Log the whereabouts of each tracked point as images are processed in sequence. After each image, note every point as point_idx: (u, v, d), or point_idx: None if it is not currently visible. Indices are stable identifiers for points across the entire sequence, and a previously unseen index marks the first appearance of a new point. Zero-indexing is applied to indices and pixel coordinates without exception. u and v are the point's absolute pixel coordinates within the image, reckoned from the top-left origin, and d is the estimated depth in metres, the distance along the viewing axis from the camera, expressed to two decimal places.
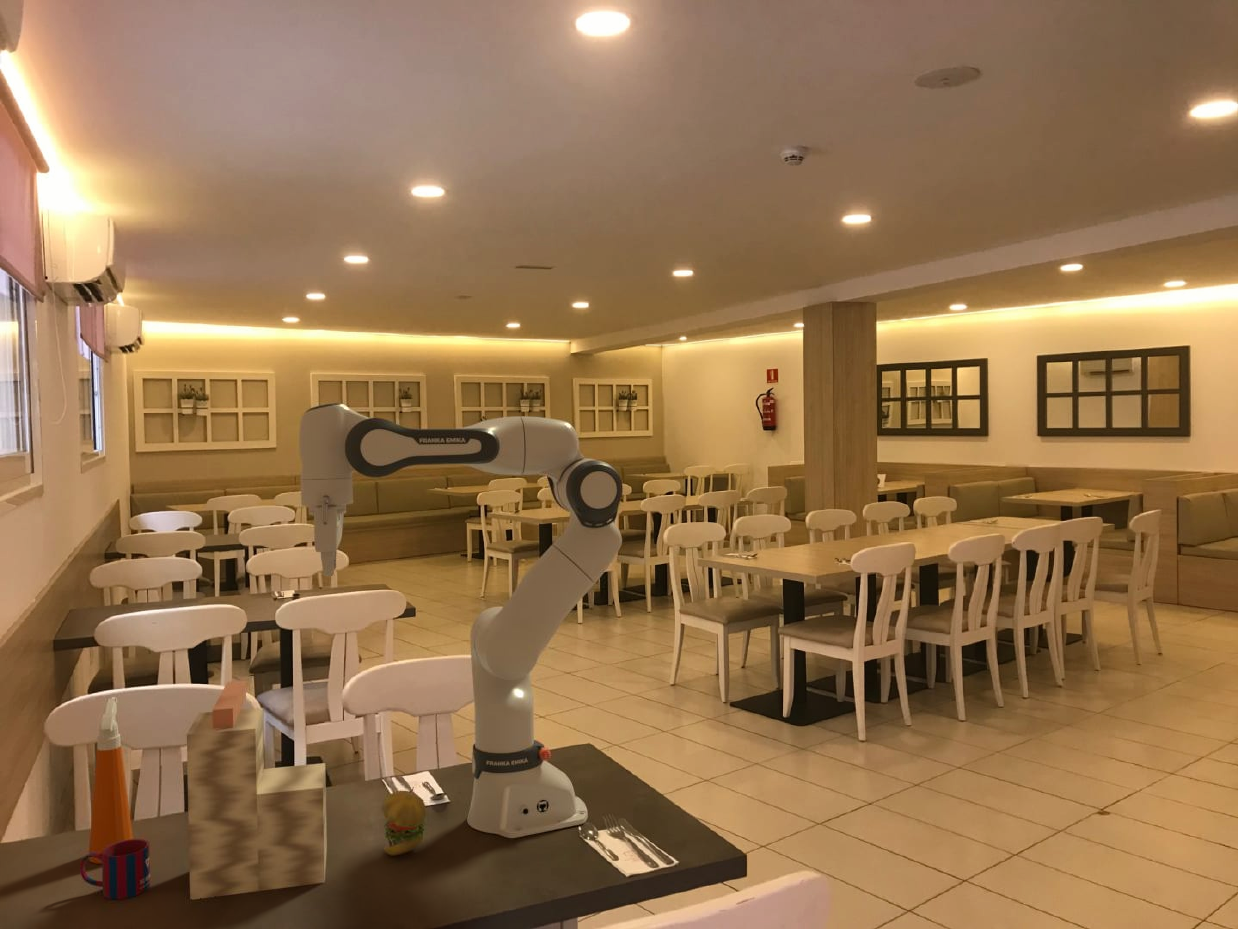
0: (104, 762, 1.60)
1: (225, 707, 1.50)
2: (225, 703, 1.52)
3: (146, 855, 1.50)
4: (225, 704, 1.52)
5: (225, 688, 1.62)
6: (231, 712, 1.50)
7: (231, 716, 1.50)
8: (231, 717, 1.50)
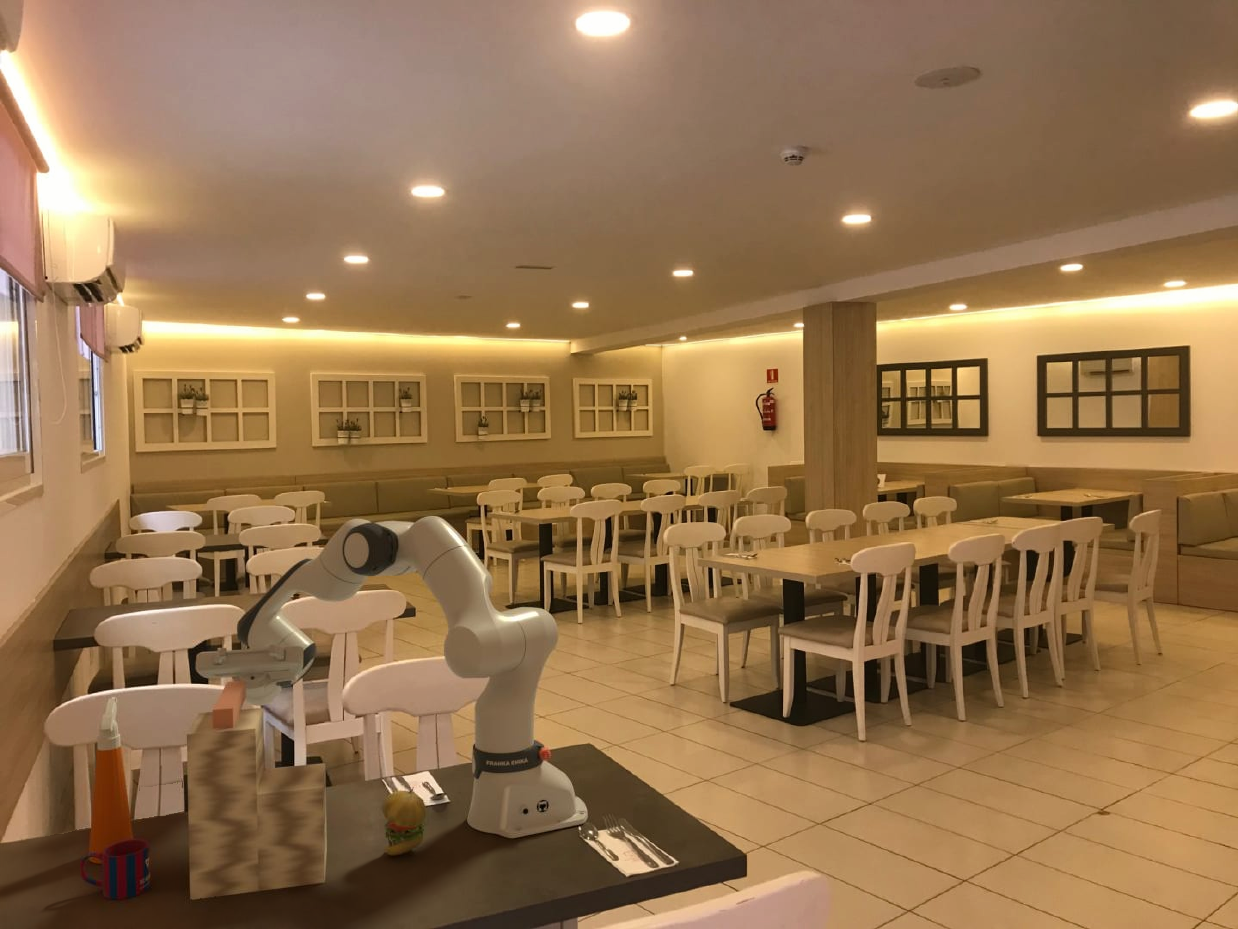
0: (104, 762, 1.61)
1: (225, 707, 1.50)
2: (225, 703, 1.52)
3: (146, 855, 1.50)
4: (225, 704, 1.52)
5: (225, 688, 1.62)
6: (231, 712, 1.50)
7: (231, 716, 1.50)
8: (231, 717, 1.50)
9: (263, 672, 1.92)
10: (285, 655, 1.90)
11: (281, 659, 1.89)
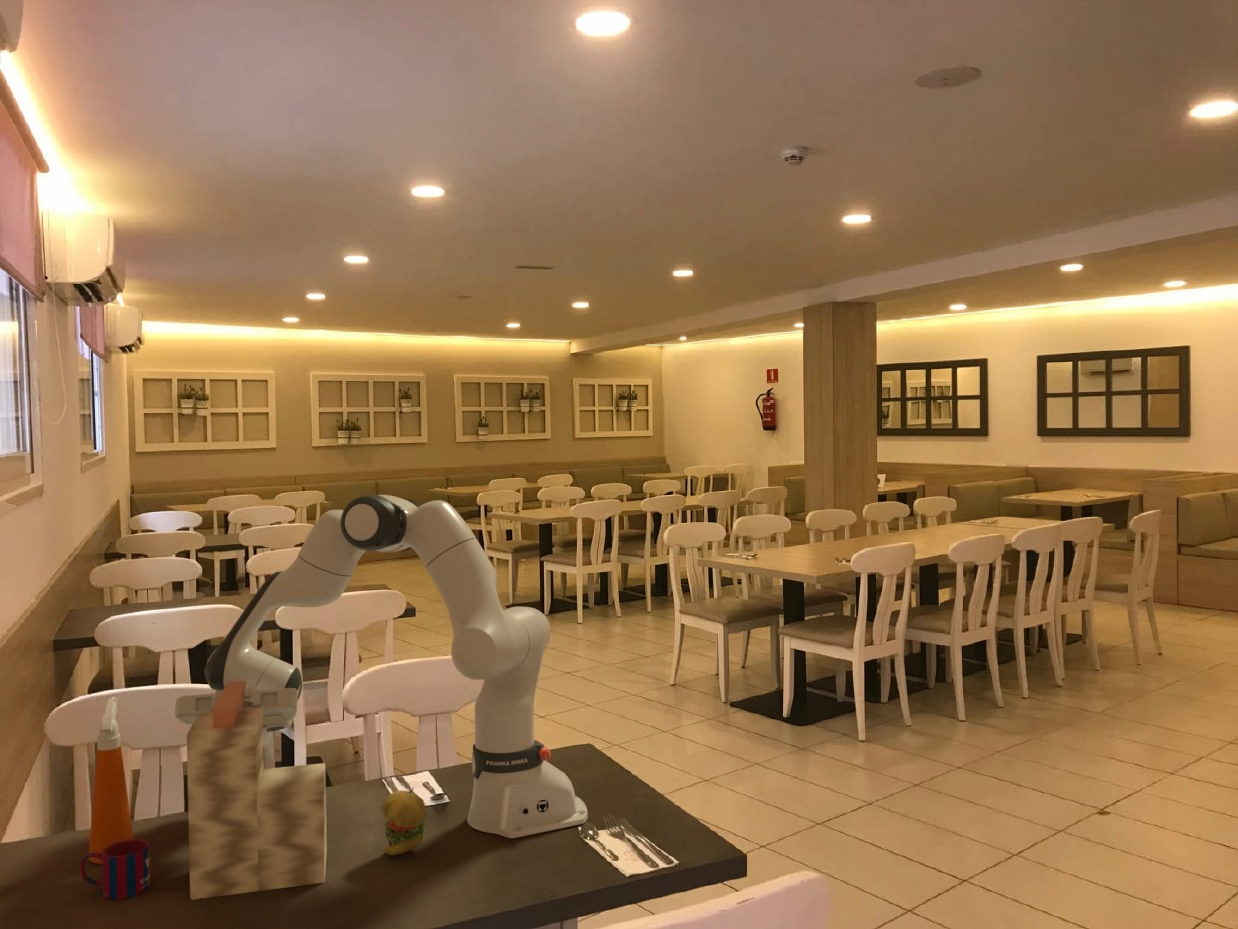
0: (104, 762, 1.61)
1: (225, 707, 1.50)
2: (225, 703, 1.52)
3: (146, 855, 1.50)
4: (225, 704, 1.52)
5: (225, 688, 1.62)
6: (231, 712, 1.50)
7: (231, 716, 1.50)
8: (231, 717, 1.50)
9: None
10: (277, 698, 1.68)
11: (257, 704, 1.66)
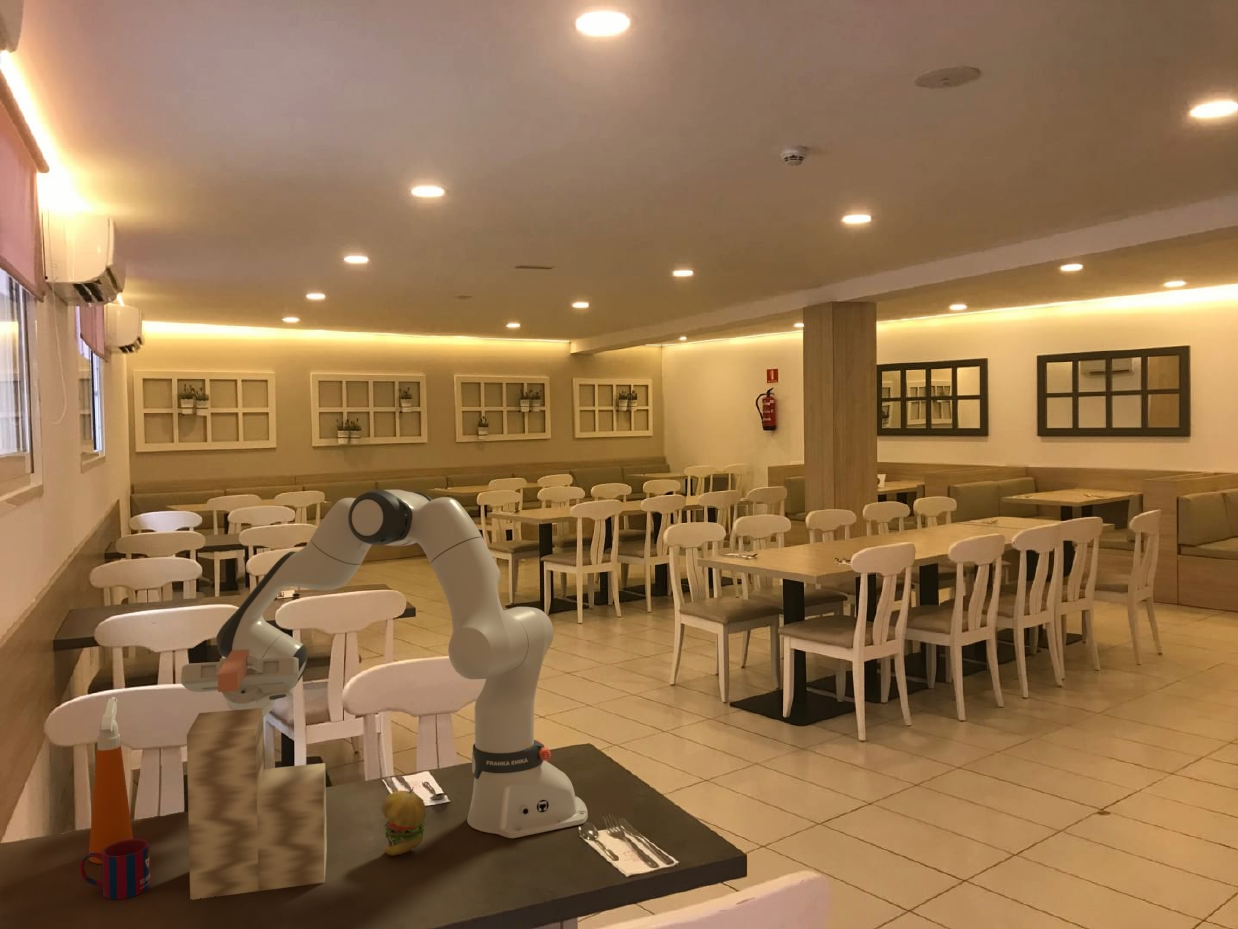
0: (104, 762, 1.61)
1: (230, 672, 1.57)
2: (229, 668, 1.59)
3: (146, 855, 1.50)
4: (230, 669, 1.58)
5: (229, 656, 1.68)
6: (235, 676, 1.56)
7: (235, 680, 1.56)
8: (235, 681, 1.56)
9: (255, 685, 1.77)
10: (279, 667, 1.74)
11: (260, 672, 1.73)
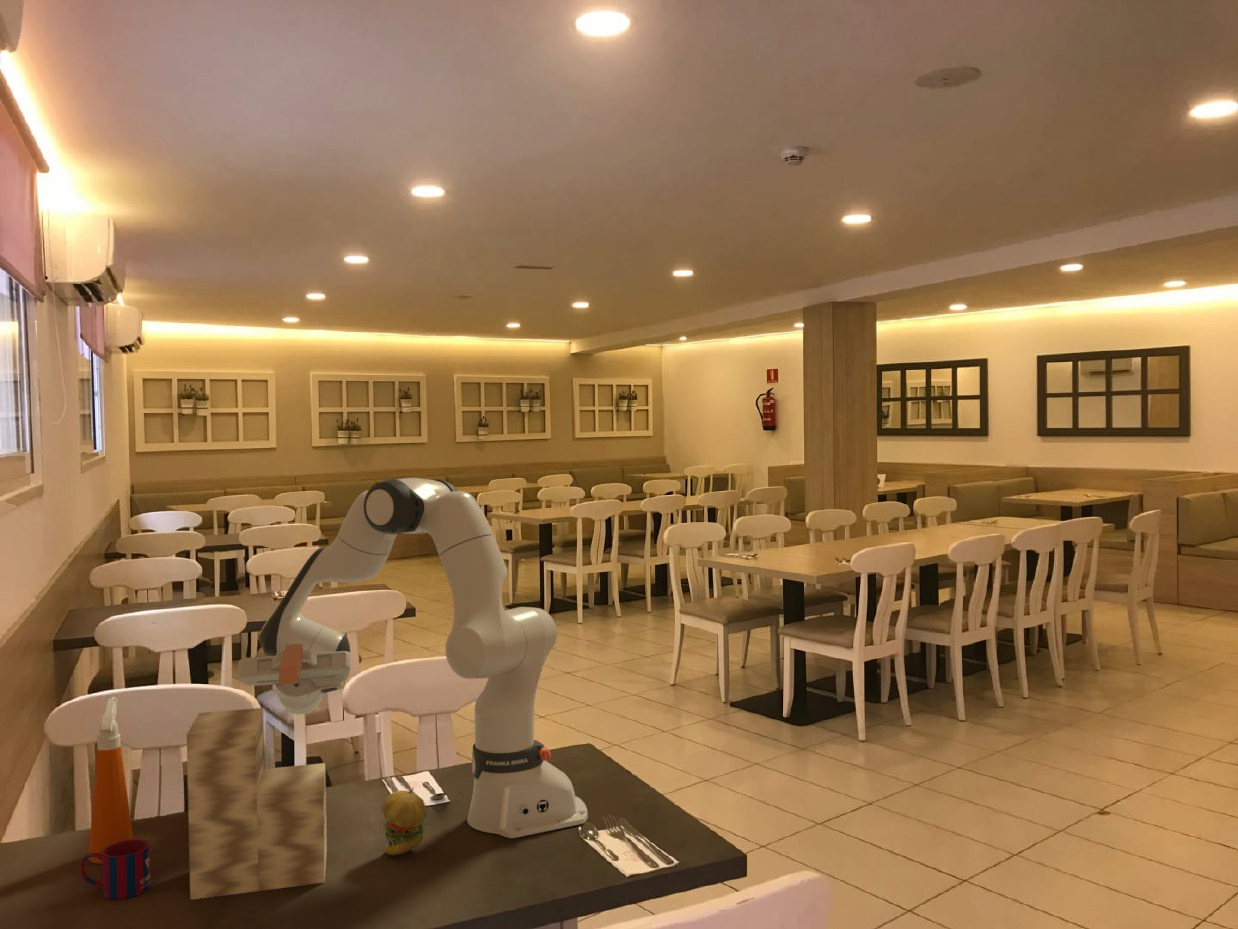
0: (104, 762, 1.60)
1: (290, 664, 1.62)
2: (289, 661, 1.64)
3: (146, 855, 1.50)
4: (289, 662, 1.64)
5: (285, 650, 1.74)
6: (295, 669, 1.62)
7: (295, 672, 1.62)
8: (296, 673, 1.62)
9: (308, 679, 1.82)
10: (331, 660, 1.80)
11: (314, 666, 1.78)
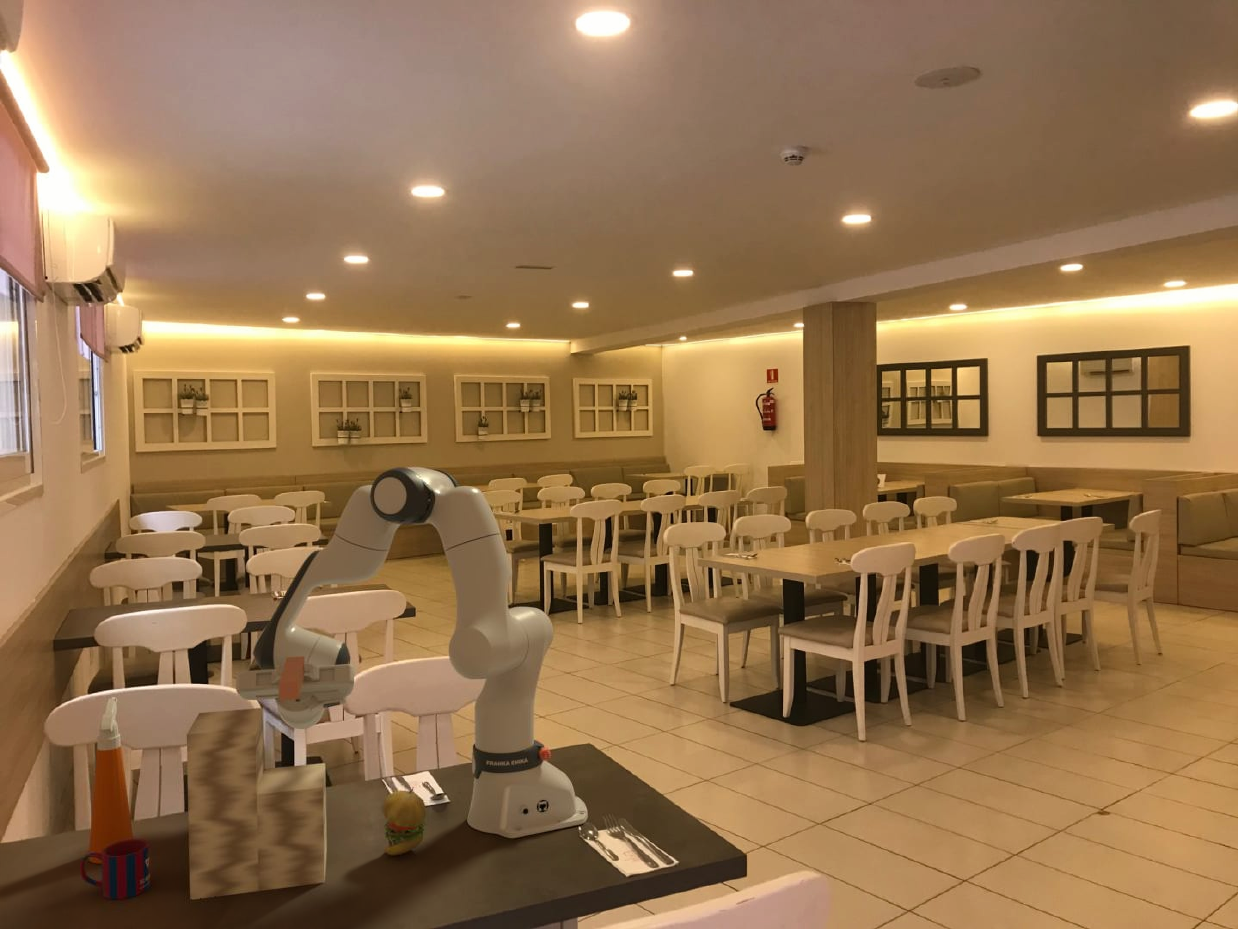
0: (104, 762, 1.61)
1: (291, 680, 1.53)
2: (290, 676, 1.55)
3: (146, 855, 1.50)
4: (290, 677, 1.54)
5: (286, 663, 1.64)
6: (297, 685, 1.52)
7: (297, 688, 1.52)
8: (297, 689, 1.52)
9: (309, 693, 1.73)
10: (335, 674, 1.70)
11: (316, 680, 1.69)
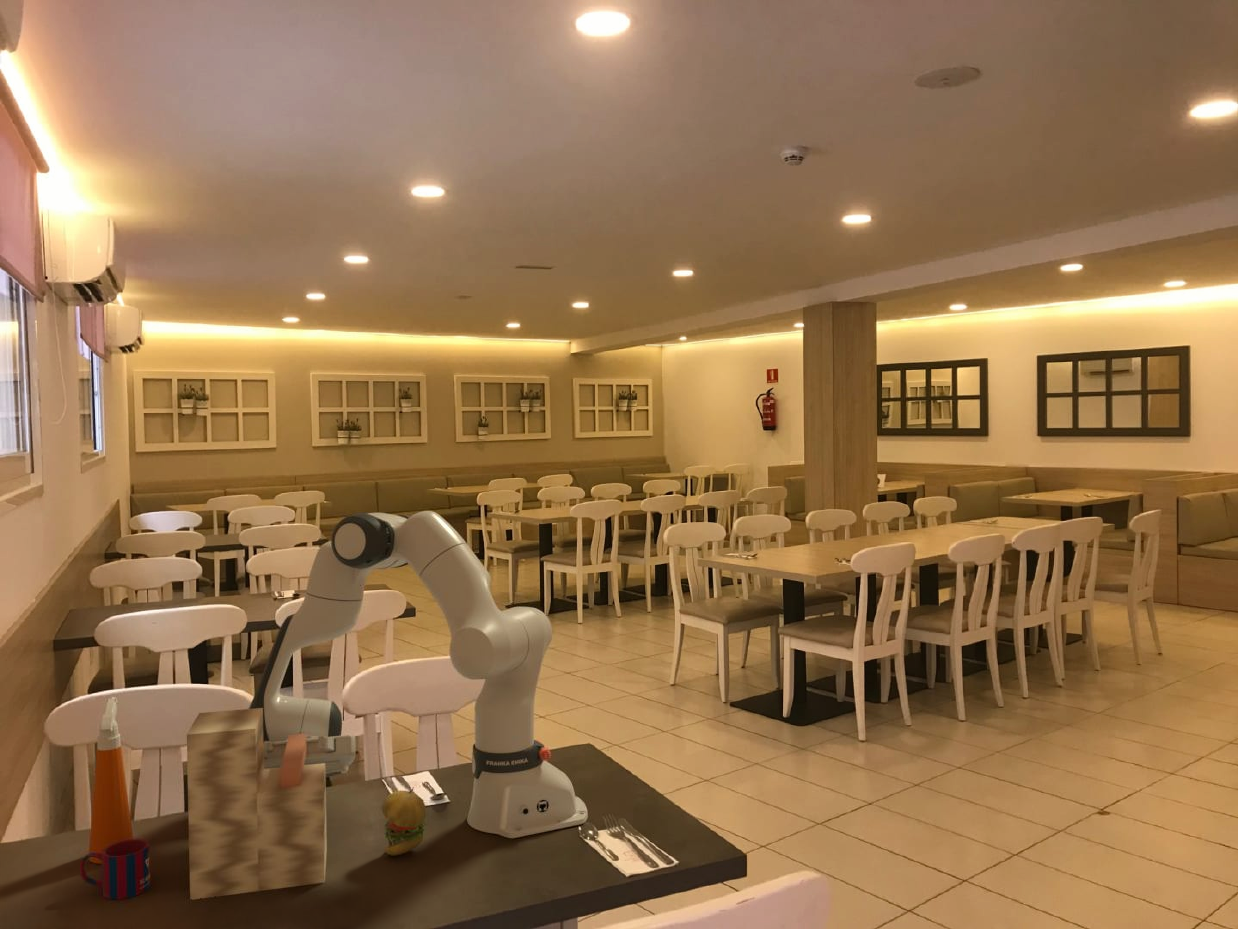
0: (104, 762, 1.61)
1: (292, 766, 1.53)
2: (291, 761, 1.55)
3: (146, 855, 1.50)
4: (291, 762, 1.55)
5: (288, 743, 1.65)
6: (298, 771, 1.53)
7: (298, 775, 1.53)
8: (298, 776, 1.53)
9: (311, 763, 1.73)
10: (336, 746, 1.71)
11: (330, 751, 1.70)
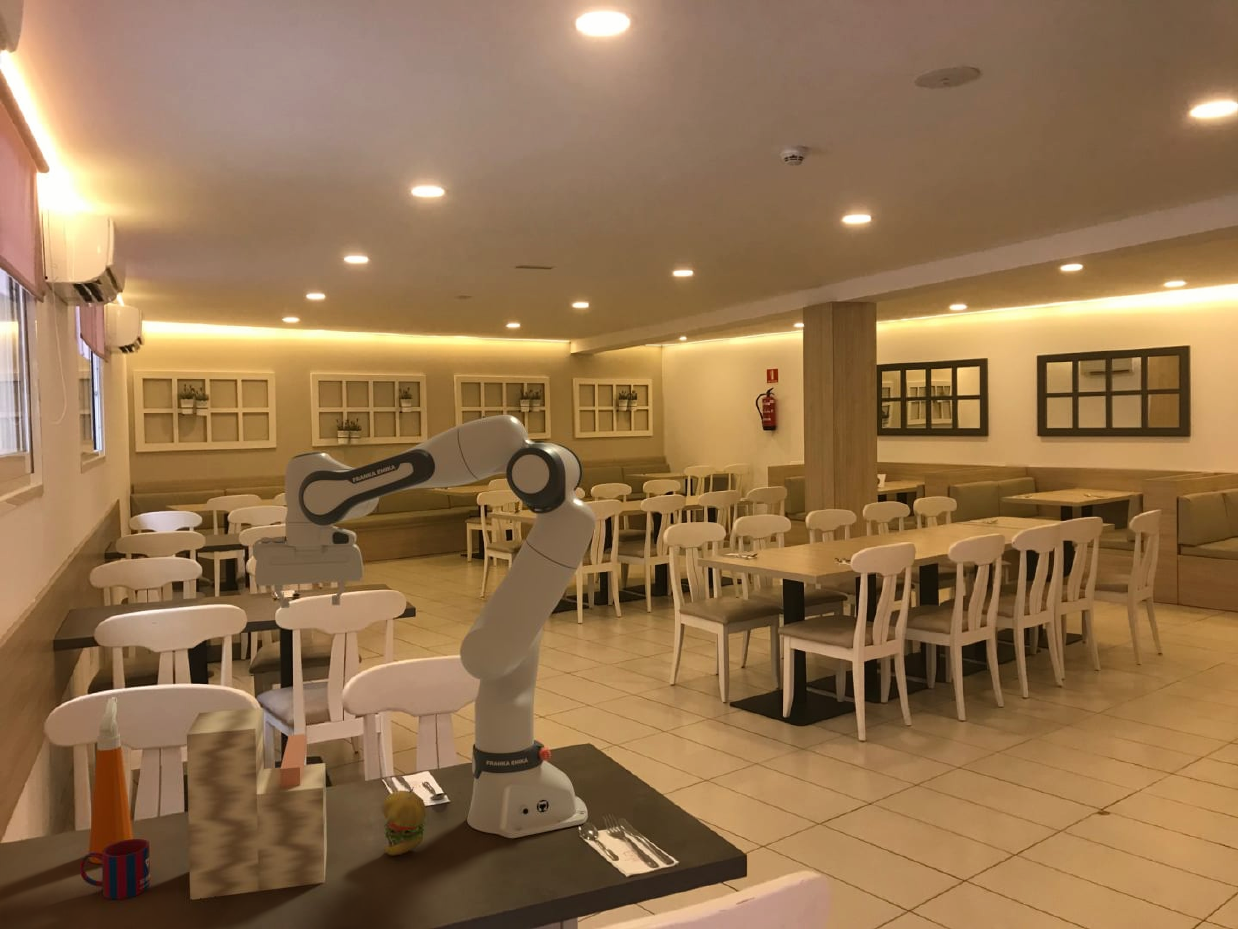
0: (104, 762, 1.60)
1: (292, 766, 1.53)
2: (291, 761, 1.55)
3: (146, 855, 1.50)
4: (291, 762, 1.55)
5: (288, 743, 1.65)
6: (298, 771, 1.53)
7: (298, 775, 1.53)
8: (298, 776, 1.53)
9: None
10: None
11: None
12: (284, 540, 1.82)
